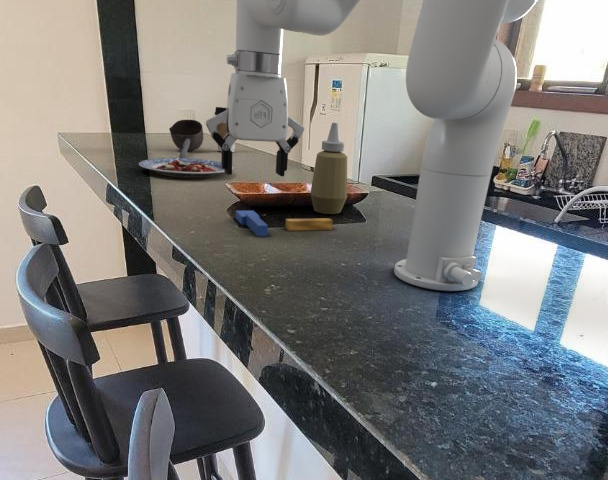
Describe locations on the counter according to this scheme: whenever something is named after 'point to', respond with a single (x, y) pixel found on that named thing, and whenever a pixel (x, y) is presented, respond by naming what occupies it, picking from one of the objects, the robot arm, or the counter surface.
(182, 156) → the ladle
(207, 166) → the ceramic plate
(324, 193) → the squeeze bottle
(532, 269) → the counter surface
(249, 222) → the blue l-shaped block
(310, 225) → the fry
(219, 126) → the coffee cup
